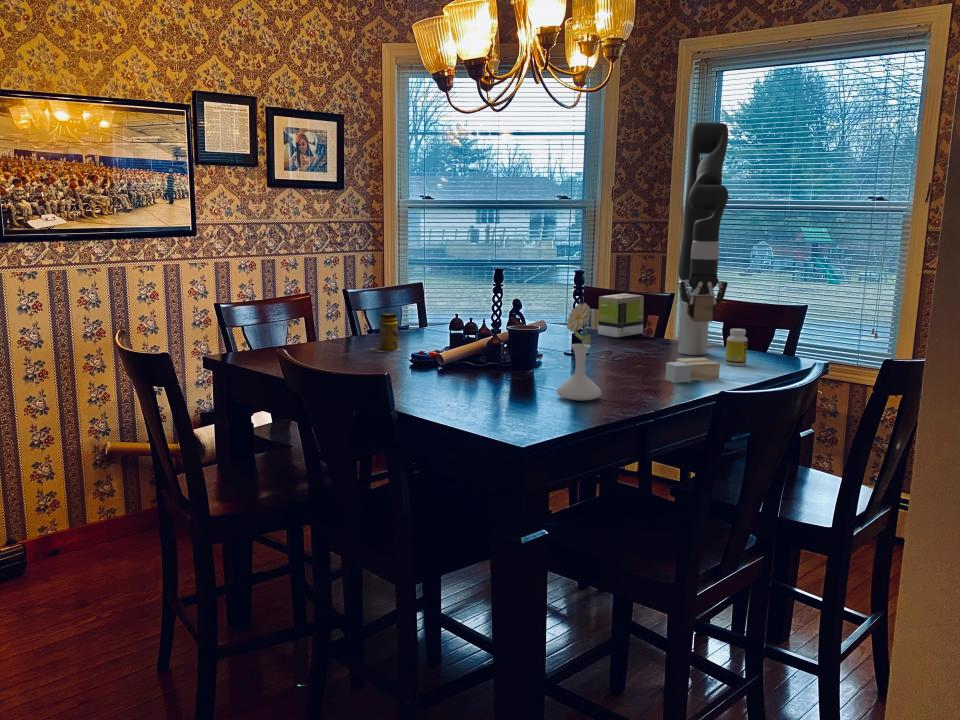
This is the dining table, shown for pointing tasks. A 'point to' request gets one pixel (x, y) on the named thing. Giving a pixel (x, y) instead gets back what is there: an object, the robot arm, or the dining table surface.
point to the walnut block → (703, 308)
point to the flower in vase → (579, 360)
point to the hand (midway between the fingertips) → (700, 317)
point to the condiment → (388, 333)
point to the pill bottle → (736, 348)
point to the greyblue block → (678, 372)
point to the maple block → (702, 368)
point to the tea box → (620, 315)
